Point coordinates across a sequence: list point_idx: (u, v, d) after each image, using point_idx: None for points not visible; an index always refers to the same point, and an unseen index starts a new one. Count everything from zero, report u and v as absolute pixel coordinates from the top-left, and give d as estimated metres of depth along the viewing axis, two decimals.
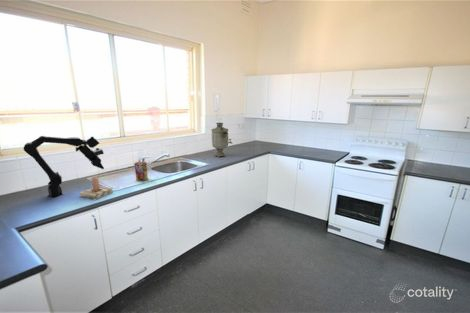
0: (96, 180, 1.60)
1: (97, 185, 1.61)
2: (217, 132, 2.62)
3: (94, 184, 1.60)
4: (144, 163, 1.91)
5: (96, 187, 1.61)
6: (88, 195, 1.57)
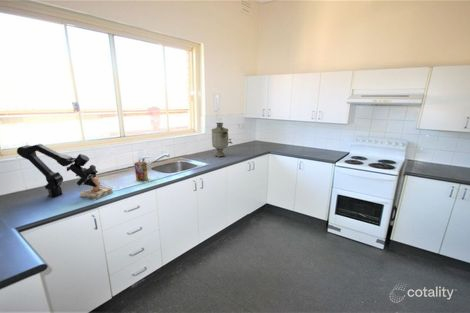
0: (96, 180, 1.60)
1: (97, 185, 1.61)
2: (217, 132, 2.62)
3: None
4: (144, 163, 1.91)
5: (96, 187, 1.61)
6: (88, 195, 1.57)
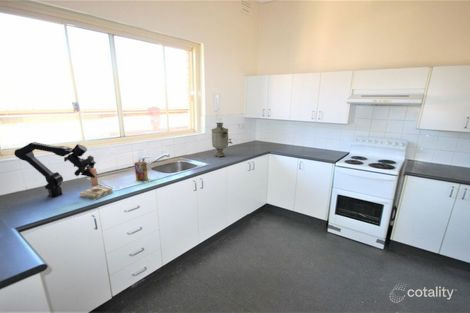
0: (94, 171, 1.59)
1: (95, 176, 1.60)
2: (217, 132, 2.62)
3: None
4: (144, 163, 1.91)
5: (94, 178, 1.59)
6: (88, 195, 1.57)
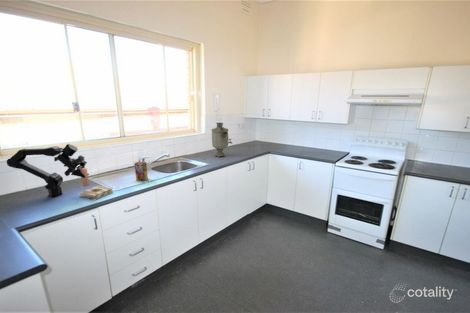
0: (84, 171, 1.58)
1: (86, 176, 1.59)
2: (217, 132, 2.62)
3: None
4: (144, 163, 1.91)
5: (85, 178, 1.59)
6: (88, 195, 1.57)
